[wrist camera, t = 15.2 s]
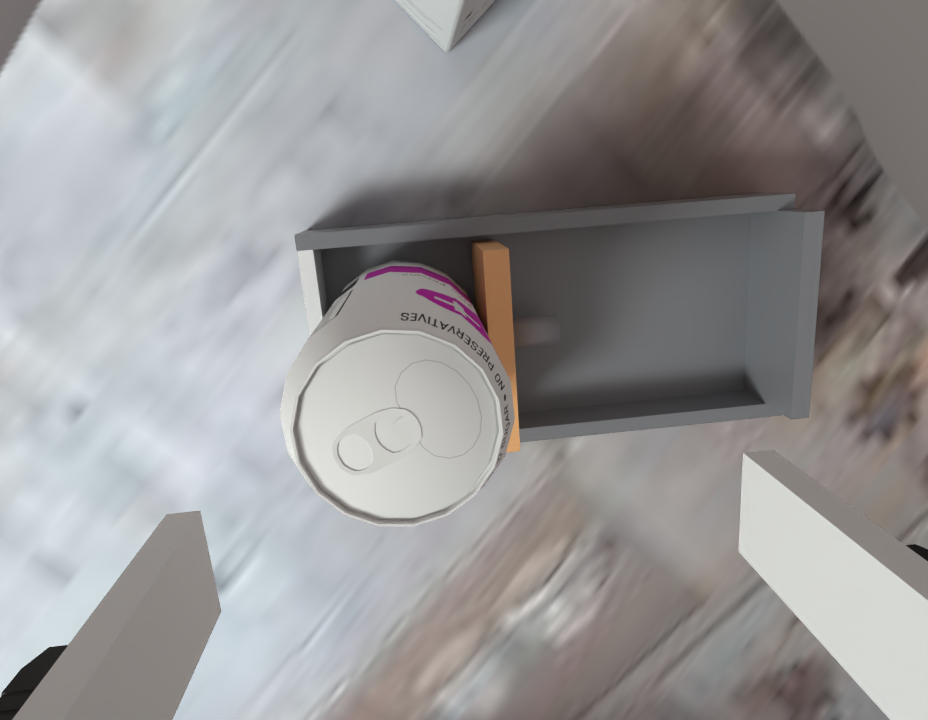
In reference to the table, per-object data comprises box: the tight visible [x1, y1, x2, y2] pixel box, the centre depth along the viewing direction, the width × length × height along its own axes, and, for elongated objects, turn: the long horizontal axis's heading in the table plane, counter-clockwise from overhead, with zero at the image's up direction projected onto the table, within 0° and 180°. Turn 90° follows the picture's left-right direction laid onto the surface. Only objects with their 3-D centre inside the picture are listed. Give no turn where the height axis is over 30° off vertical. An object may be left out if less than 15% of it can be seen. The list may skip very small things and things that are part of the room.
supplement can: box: [280, 260, 515, 527], centre depth 28 cm, size 8×8×15 cm
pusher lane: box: [295, 193, 825, 442], centre depth 34 cm, size 12×26×6 cm, turn 94°
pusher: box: [471, 239, 560, 452], centre depth 33 cm, size 10×4×6 cm, turn 4°
